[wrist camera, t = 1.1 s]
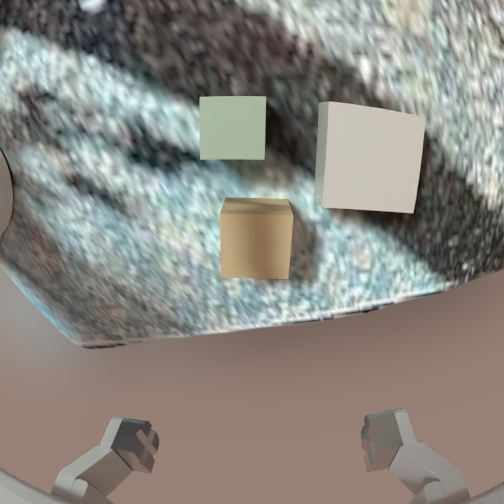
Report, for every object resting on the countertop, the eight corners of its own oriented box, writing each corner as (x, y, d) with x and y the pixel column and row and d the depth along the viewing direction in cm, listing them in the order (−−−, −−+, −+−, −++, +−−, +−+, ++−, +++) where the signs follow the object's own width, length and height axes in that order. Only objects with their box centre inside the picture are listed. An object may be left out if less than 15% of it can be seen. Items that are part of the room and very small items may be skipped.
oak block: (226, 252, 32) (221, 277, 28) (225, 197, 30) (220, 213, 25) (284, 254, 32) (288, 279, 28) (287, 199, 30) (293, 215, 25)
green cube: (209, 151, 28) (200, 159, 23) (209, 99, 26) (199, 97, 21) (263, 152, 28) (264, 159, 23) (264, 99, 25) (266, 96, 21)
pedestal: (313, 195, 29) (321, 207, 26) (319, 102, 25) (328, 101, 22) (396, 200, 29) (413, 213, 26) (405, 115, 25) (425, 117, 22)
